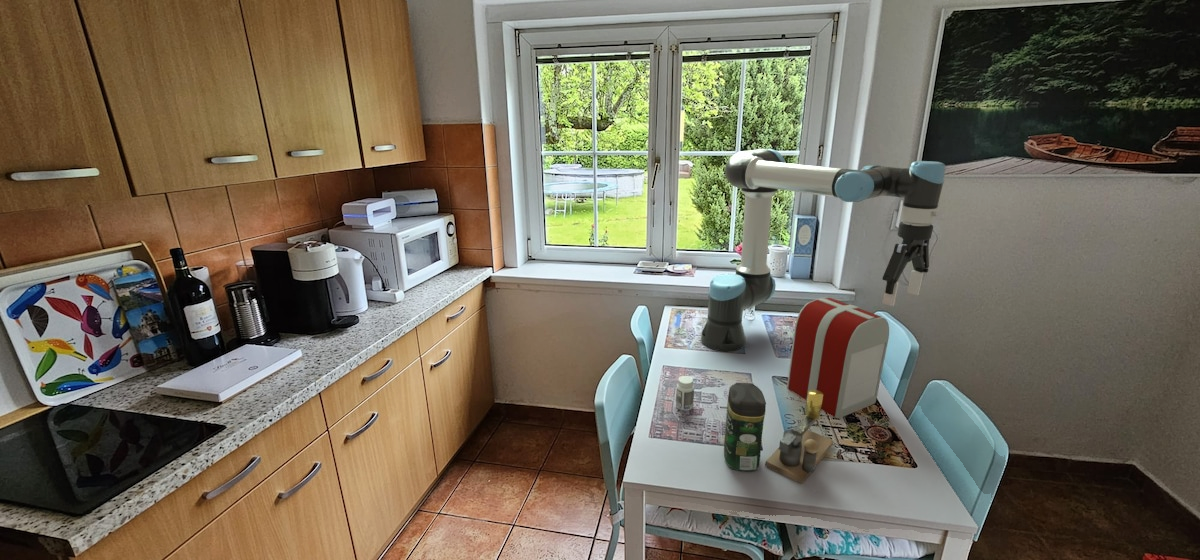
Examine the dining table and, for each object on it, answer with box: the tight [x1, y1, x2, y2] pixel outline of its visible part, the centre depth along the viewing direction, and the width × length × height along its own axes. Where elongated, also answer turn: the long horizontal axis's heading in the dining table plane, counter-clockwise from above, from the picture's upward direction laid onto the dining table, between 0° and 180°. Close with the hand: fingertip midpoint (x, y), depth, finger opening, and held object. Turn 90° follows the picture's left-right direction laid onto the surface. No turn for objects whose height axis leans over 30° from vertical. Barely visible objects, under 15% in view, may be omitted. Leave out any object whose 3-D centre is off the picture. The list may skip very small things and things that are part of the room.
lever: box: [778, 390, 823, 454], centre depth 112 cm, size 4×17×8 cm, turn 136°
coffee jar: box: [723, 382, 767, 472], centre depth 111 cm, size 10×8×19 cm
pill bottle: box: [675, 375, 695, 411], centre depth 133 cm, size 5×5×8 cm
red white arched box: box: [786, 297, 890, 419], centre depth 135 cm, size 17×18×27 cm
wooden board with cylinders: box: [764, 429, 834, 485], centre depth 114 cm, size 10×18×9 cm, turn 136°
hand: (900, 299), depth 133 cm, fingers open, 13 cm apart
